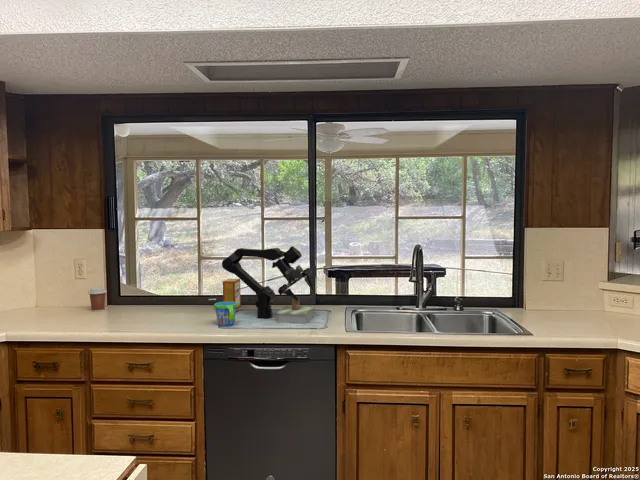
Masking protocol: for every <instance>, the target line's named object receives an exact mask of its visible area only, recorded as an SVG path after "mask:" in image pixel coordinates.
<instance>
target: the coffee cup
mask: <svg viewBox="0 0 640 480" xmlns="http://www.w3.org/2000/svg"><path fill="white" fill-rule="evenodd" d="M107 292H108V290H106V289H105V287H104V286H103V287H102V286H97V287H91V288H90V289H89V291H88V293H87V294H88V295H89V299H90V307H91V308H90V309H91V312H103V311H105V310H106V309H105V307H106V293H107Z"/></svg>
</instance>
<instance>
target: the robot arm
mask: <svg viewBox="0 0 640 480" xmlns="http://www.w3.org/2000/svg"><path fill="white" fill-rule="evenodd" d="M244 257H248V258H249V257H251V258H262V259H265V260H269V261H272V265H271V269H275V268H277V270H278V271H279V272H280V273H281V274H282V277H283V278H285V280H286V281H287V284H286V283H284V284H283V285H281V286H279V288H278V290H277V292H278V295H280V296H282V295H283V296H285V295H286V296H288V297H290V298H292V299H295V300H297V301H299V300H298V299H299V298H298V297H297V296H296V295H295V294H294V292H293V291H292V289H291V288H290V287H292V286H293V285H295V284H296V283H298V282H299V281H301V280H302V279H303V280H304V282H305V283H306V284H307V285H308V287H309V289H310V290H312V291H314V287H313V283H312V281H311V275H312V272H313V270H312V269H311V268H310V267H307V268H305V269H303V267H302V266H301V265H300V264H298V265H297V266H296V267H295V268H294V267H293V266H292V265H291V264H295V263H296V262H297V261H298V260H300V258H302V252H301V251H300V250H299V249H298V248H296V247H295V246H290V247H289V249H287V250H286V251H284V250H282V249H280V248H279V247H273V248H265V249H260V248H259V249H257V248H244V247H240V248H237V249H235V250H234V252H232V253H231V254H229V256H228V257H226V258H224V259H223V260H222V262H221V266H222V268H223V269H224V270H225V271H226V272H228V273H231V274H234V275H235V276H236V277H238V279H240V281H242V282H243V283H244V284H245V285H246V286H247V287H248V288H250V289H251V291H253V292H254V294H255V295H256V297H257V301H256V302H255V306H256V309H257V311H256V312H257V313H256V314H257V316H256V319H262V320H263V319H264V320H269V319H271V318H273V308H272V305H273V302H274V301H275V300H276V293H275V290H274V289H272V288H271V287H270V286H269V285H266V286H263V285H261V284H260V282H258V281H257V280H256V279H255V278H253V276H251V275H250V274H249V273H248V272H247V271H246V270H245V269H244V268H243V267H242V265H241V263H240V262H241V261H242V258H244Z"/></svg>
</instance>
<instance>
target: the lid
mask: <svg viewBox="0 0 640 480" xmlns="http://www.w3.org/2000/svg"><path fill="white" fill-rule="evenodd" d="M298 300H299V301H297V300H295V299H293V298H292V299H291V305H285V306H284V307H282V308H280V309H279V310H277V311H276V314H278V315H279V314H296V315H307V314H308V313H309V312H310V311H312V312H313V310H314V309H315V306H301V305H300V300H301V299H300V298H298Z"/></svg>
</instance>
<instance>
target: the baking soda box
mask: <svg viewBox="0 0 640 480" xmlns="http://www.w3.org/2000/svg"><path fill="white" fill-rule="evenodd" d="M226 301H231V302H236V303H237V307H236V310H238V309H239V308H241V305H242V302H241V301H242V299H241V279H240V278H227V279H224V280H223V281H222V302H226Z"/></svg>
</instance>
